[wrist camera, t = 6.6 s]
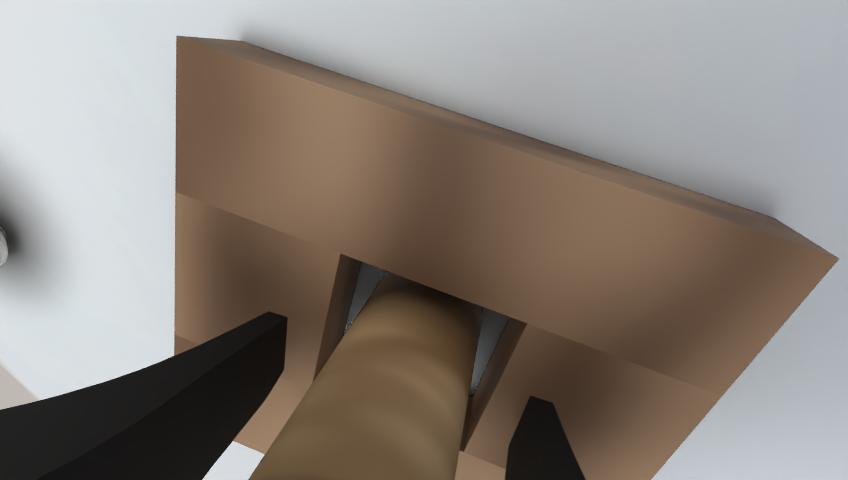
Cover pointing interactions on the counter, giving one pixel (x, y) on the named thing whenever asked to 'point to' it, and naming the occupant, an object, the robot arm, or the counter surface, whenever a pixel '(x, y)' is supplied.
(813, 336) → the counter surface
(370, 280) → the counter surface
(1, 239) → the lightbulb
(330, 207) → the socket board
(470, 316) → the peg
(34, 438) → the robot arm
